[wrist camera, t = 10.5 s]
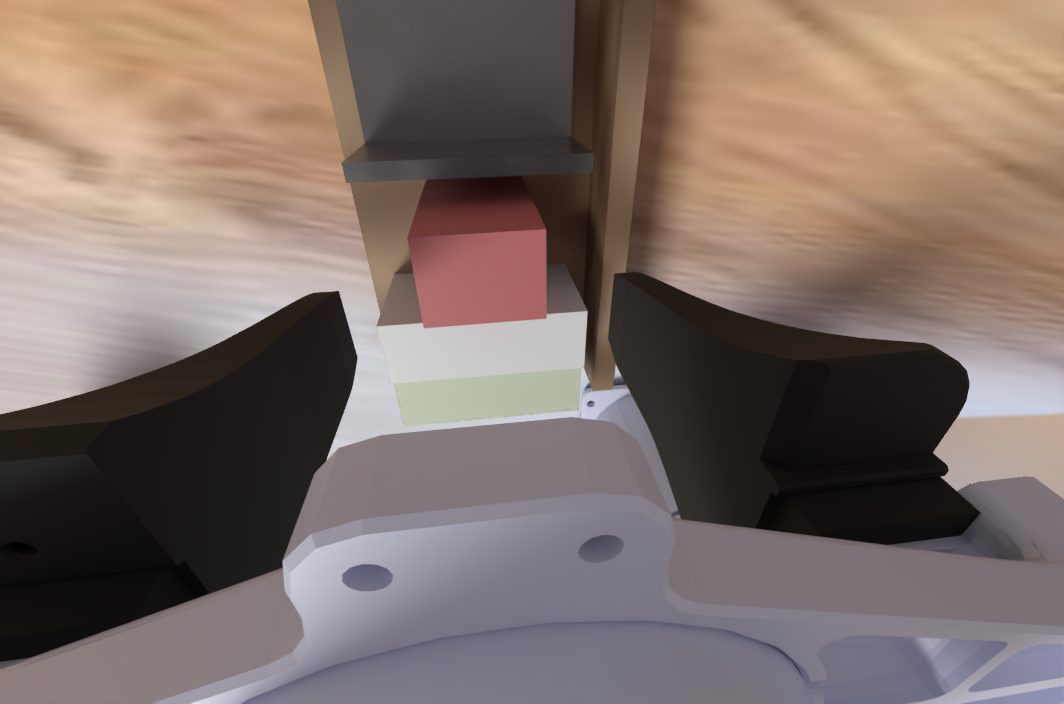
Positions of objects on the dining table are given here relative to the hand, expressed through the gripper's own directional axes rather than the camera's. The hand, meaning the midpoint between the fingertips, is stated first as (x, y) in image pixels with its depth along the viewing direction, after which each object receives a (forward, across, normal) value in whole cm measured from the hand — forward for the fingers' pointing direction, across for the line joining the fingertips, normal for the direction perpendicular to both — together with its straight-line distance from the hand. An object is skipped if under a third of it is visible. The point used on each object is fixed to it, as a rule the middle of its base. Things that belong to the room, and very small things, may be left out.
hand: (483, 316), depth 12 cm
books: (+9, 0, +5) cm, 11 cm away
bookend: (+9, 0, -5) cm, 10 cm away
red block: (+9, 0, 0) cm, 9 cm away
